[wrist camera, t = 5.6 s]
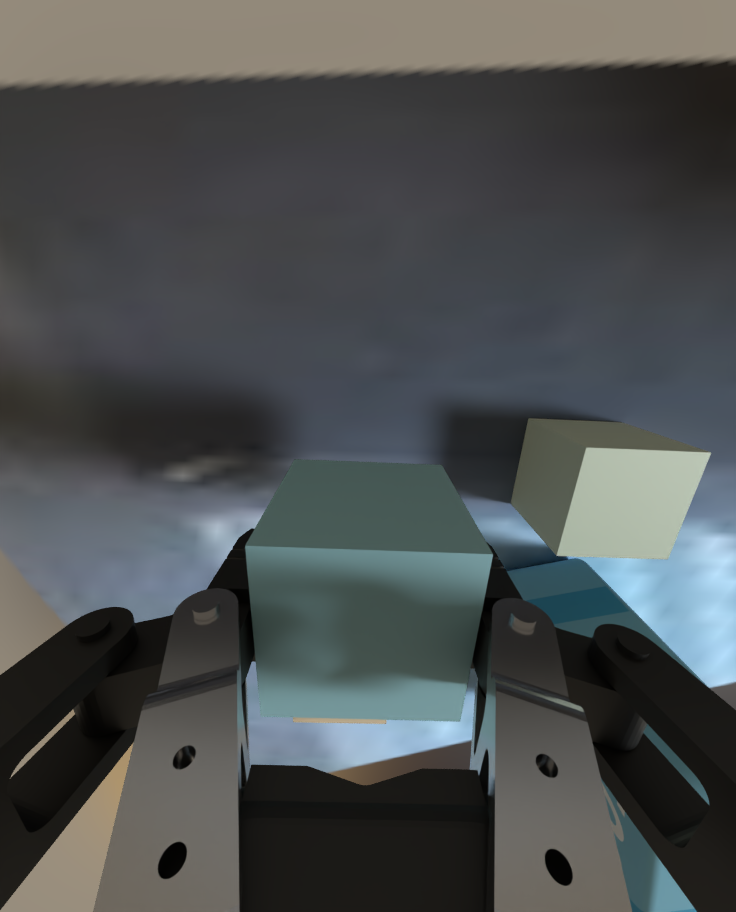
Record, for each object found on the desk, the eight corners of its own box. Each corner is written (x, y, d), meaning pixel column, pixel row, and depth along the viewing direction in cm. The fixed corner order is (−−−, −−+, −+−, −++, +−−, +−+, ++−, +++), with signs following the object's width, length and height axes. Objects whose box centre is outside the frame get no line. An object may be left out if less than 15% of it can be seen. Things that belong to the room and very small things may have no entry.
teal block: (295, 459, 12) (244, 545, 7) (441, 465, 12) (493, 554, 7) (298, 580, 13) (261, 716, 8) (426, 584, 13) (459, 721, 9)
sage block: (527, 417, 18) (586, 447, 13) (620, 421, 18) (711, 452, 13) (510, 502, 20) (556, 555, 15) (595, 505, 20) (667, 559, 15)
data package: (498, 559, 21) (657, 826, 10) (572, 546, 21) (828, 803, 9) (512, 694, 25) (637, 995, 14) (575, 684, 25) (756, 982, 13)
